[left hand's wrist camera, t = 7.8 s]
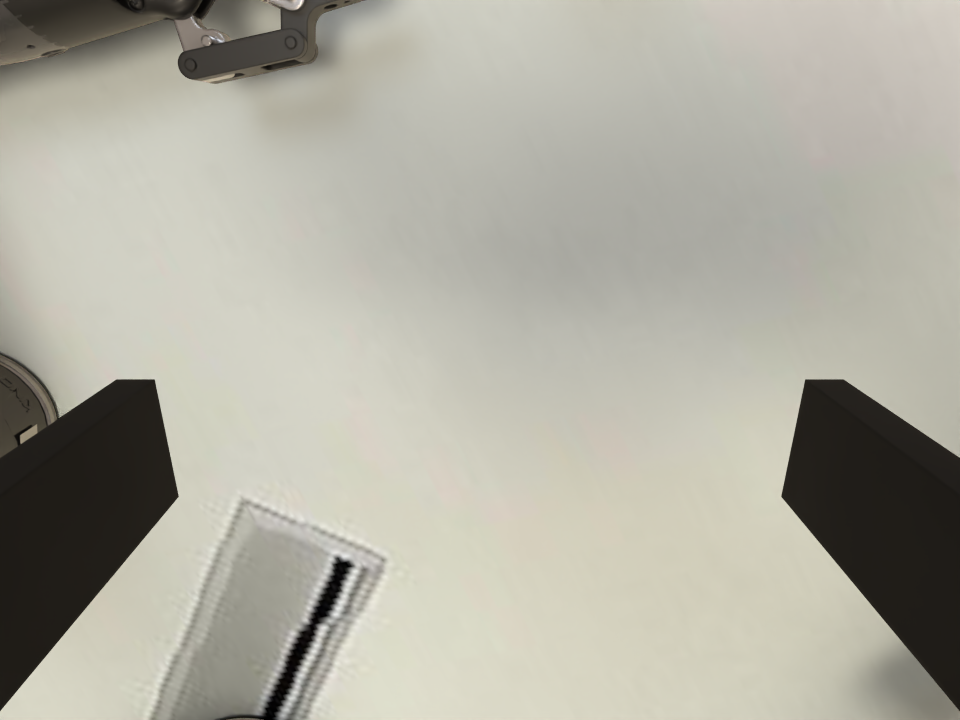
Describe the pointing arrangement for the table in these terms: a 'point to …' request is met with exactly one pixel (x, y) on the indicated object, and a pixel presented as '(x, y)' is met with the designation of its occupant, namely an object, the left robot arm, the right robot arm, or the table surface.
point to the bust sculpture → (244, 719)
